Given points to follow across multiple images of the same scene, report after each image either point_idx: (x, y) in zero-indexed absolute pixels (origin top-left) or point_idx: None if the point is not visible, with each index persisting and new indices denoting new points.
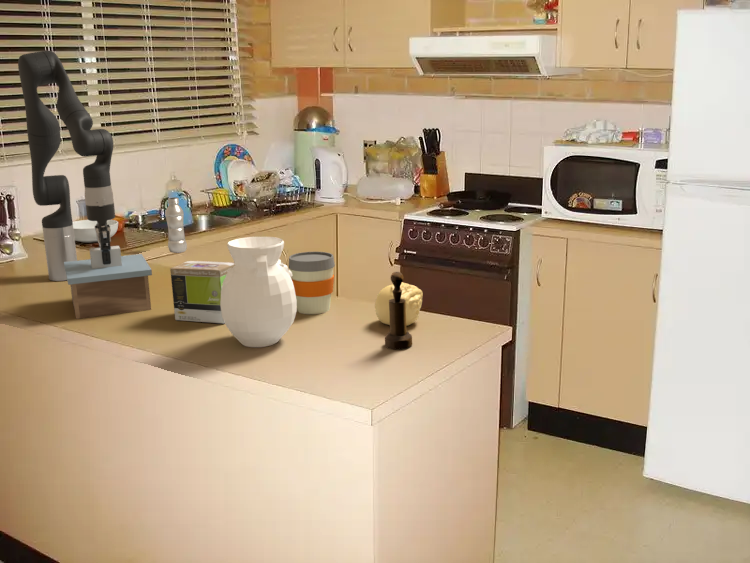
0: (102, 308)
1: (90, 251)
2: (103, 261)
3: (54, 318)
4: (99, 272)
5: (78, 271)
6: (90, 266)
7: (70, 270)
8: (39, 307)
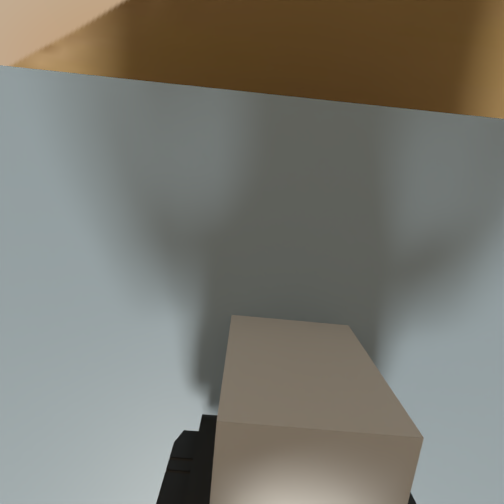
0: None
1: (219, 420)
2: (199, 434)
3: (183, 54)
4: (66, 340)
5: (193, 197)
6: (327, 315)
7: (278, 139)
8: (418, 12)
